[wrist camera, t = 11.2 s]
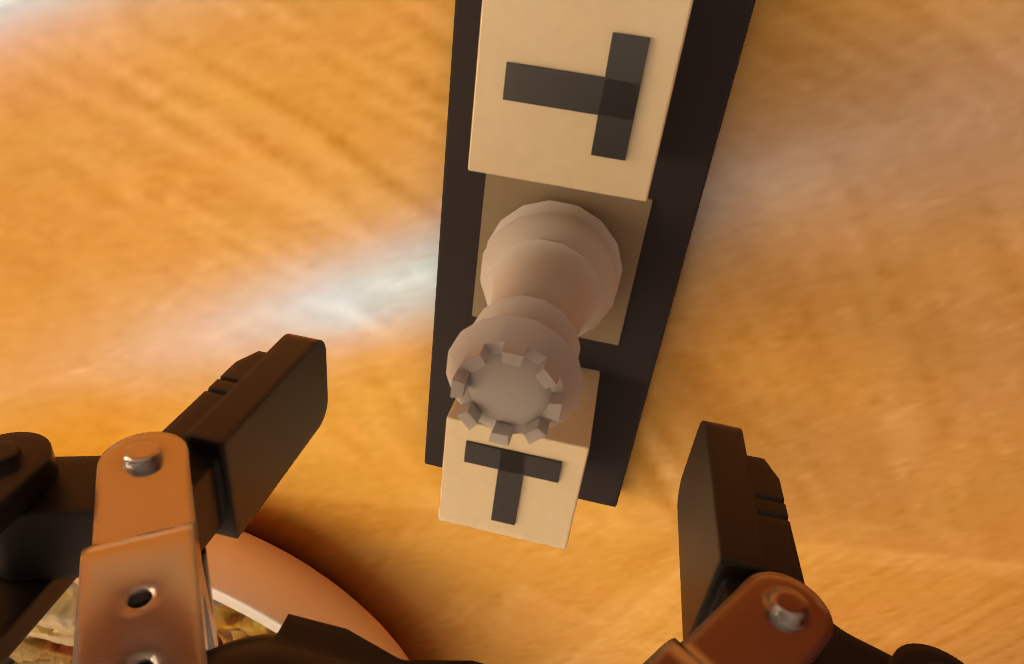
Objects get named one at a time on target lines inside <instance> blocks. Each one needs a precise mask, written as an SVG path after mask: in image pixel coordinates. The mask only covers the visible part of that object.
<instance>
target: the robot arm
mask: <svg viewBox="0 0 1024 664" xmlns="http://www.w3.org/2000/svg"><path fill="white" fill-rule="evenodd" d="M327 402H328V392H327V366H326V348H325V344H324V342H323V341H322V340H317V339H312V338H307V337H303V336H298V335H293V334H286V335H284V336H283V337H282V338H281V339H280V340H279V341H278V342H277V343H276V344H275V345H274V346H273V347H272V348H271V349H270V350H269V351H268V352H267V353H266V352H261V351H258V352H256V353H254V354H252V355H249V356H247V357H245V358H243V359H241V360H239V361H237V362H236V363H234V364H233V365H232V366H231V367H230V368H229V369H228V370H227V371H226V372H225V373H224V374H223V375H222V376H221V379H217V380H216V381H215V382H214V383H213V384H212V385H211V386H210V387H209V388H208V391H205V392H204V393H203V394H202V395H201V396H199V397H198V398H197V399H196V400H195V401H194V402H193V403H192V404H191V405H190V406H189V407H188V408H187V409H186V410H185V411H184V412H182V413H181V414H180V415H179V416H178V417H177V418H176V419H175V420H174V421H173V422H172V423H171V424H170V425H169V426H168V427H167V428H166V429H164V430H163V431H162V432H147V433H141V434H137V435H133V436H130V437H127V438H125V439H123V440H121V441H119V442H117V443H115V444H114V445H112V446H111V447H110V448H108V449H107V450H106V451H105V452H104V453H103V454H102V456H75V457H55V456H54V452H53V449H52V446H51V443H50V442H49V440H48V439H47V438H45V437H44V436H42V435H40V434H36V433H30V432H14V433H7V434H1V435H0V664H3V663H4V662H5V661H6V660H7V658H8V657H9V656H10V655H11V654H12V653H13V651H14V650H15V649H16V648H17V647H18V646H19V645H20V643H21V642H22V641H23V640H24V639H25V638H26V636H27V635H28V634H29V633H30V632H31V631H32V629H33V628H34V627H35V626H36V625H37V624H38V623H39V621H40V620H41V619H42V618H43V617H44V616H45V614H46V613H47V612H48V611H49V610H50V609H51V607H52V606H53V605H54V604H55V603H56V602H57V600H58V599H59V598H60V597H61V596H62V595H63V594H64V592H65V591H66V590H67V589H68V588H69V587H70V585H71V584H72V583H73V582H74V581H75V580H76V578H79V581H78V594H77V607H76V620H75V632H74V645H73V658H72V664H483V663H479V662H475V661H448V660H403V659H400V658H397V657H396V656H394V655H392V654H390V653H389V652H387V651H385V650H383V649H381V648H380V647H378V646H376V645H374V644H373V643H371V642H369V641H367V640H366V639H364V638H362V637H360V636H359V635H357V634H355V633H353V632H352V631H350V630H348V629H346V628H342V627H338V626H334V625H330V624H327V623H323V622H319V621H315V620H311V619H307V618H303V617H299V616H295V615H291V614H288V615H287V617H286V619H285V621H284V623H283V624H282V626H281V628H280V630H279V631H278V633H268V634H259V635H253V636H248V637H244V638H239V639H236V640H233V641H230V642H227V643H224V644H222V645H219V646H218V639H217V632H216V623H215V615H214V606H213V597H212V589H211V580H210V571H209V563H208V554H207V549H206V545H207V544H208V543H209V542H210V540H211V539H212V538H213V536H214V535H215V534H220V535H224V536H228V537H232V538H236V539H238V538H239V536H240V535H241V534H242V532H243V531H244V530H245V528H246V527H247V525H248V524H249V523H250V521H251V520H252V519H253V517H254V516H255V514H256V513H257V512H258V510H259V509H260V508H261V506H262V505H263V504H264V502H265V501H266V499H267V498H268V497H269V495H270V494H271V493H272V491H273V490H274V488H275V487H276V486H277V484H278V483H279V482H280V480H281V479H282V477H283V476H284V475H285V473H286V472H287V471H288V469H289V468H290V467H291V465H292V464H293V462H294V461H295V460H296V458H297V457H298V456H299V454H300V453H301V451H302V450H303V449H304V447H305V446H306V445H307V443H308V442H309V440H310V439H311V438H312V436H313V435H314V434H315V432H316V431H317V429H318V428H319V427H320V425H321V423H322V421H323V419H324V416H325V413H326V409H327ZM677 509H678V533H679V556H680V580H681V603H682V626H683V641H682V642H681V643H680V642H679V641H677V640H676V639H675V638H673V639H671V640H669V641H667V642H666V643H665V644H664V645H663V646H661V647H660V648H659V649H658V650H657V651H656V652H655V653H654V654H653V655H652V656H651V657H650V658H649V659H648V660H647V661H646V662H645V663H643V664H964V663H962V662H961V661H960V660H958V659H957V658H955V657H953V656H952V655H950V654H948V653H946V652H944V651H942V650H940V649H938V648H935V647H932V646H929V645H924V644H916V643H913V644H906V645H903V646H901V647H900V648H898V649H897V650H896V651H895V653H894V654H893V656H891V655H889V654H887V653H885V652H883V651H881V650H879V649H877V648H875V647H873V646H871V645H869V644H867V643H865V642H863V641H861V640H859V639H857V638H855V637H853V636H852V635H850V634H848V633H846V632H844V631H843V630H842V629H840V628H839V627H837V626H836V625H835V624H833V621H832V617H831V615H830V612H829V610H828V609H827V607H826V605H825V604H824V602H823V601H822V600H821V599H820V597H819V596H818V595H817V594H816V593H815V592H814V591H812V590H811V589H810V588H809V587H808V586H806V585H805V583H804V579H803V575H802V571H801V567H800V563H799V559H798V554H797V550H796V546H795V542H794V538H793V534H792V530H791V526H790V522H789V521H788V513H787V509H786V505H785V504H784V497H783V493H782V489H781V485H780V481H779V478H778V477H777V476H776V474H775V473H774V472H773V470H772V469H771V468H770V466H769V465H768V464H767V462H766V461H765V460H764V459H762V458H757V457H752V456H748V455H747V454H746V448H745V443H744V438H743V433H742V430H741V429H740V428H736V427H732V426H727V425H722V424H717V423H712V422H708V421H702V422H701V424H700V426H699V428H698V431H697V434H696V437H695V440H694V443H693V446H692V449H691V452H690V455H689V458H688V461H687V464H686V467H685V470H684V472H683V475H682V479H681V483H680V488H679V494H678V505H677Z"/></svg>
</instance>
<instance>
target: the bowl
mask: <svg viewBox="0 0 1024 664" xmlns="http://www.w3.org/2000/svg"><path fill="white" fill-rule="evenodd" d="M206 549H207V554H208V563H209V571H210V580H211V589H212V597H213V606H214V615H215V623H216V632H217V639H218V646H219V645H222V644H224V643H227V642H230V641H233V640H236V639H239V638H244V637H248V636H253V635H259V634H268V633H278V631H279V630H280V628H281V626H282V624H283V623H284V621H285V619H286V617H287V615H288V614H291V615H295V616H299V617H303V618H307V619H311V620H315V621H319V622H323V623H327V624H330V625H334V626H338V627H342V628H346V629H348V630H350V631H352V632H353V633H355V634H357V635H359V636H360V637H362V638H364V639H366V640H367V641H369V642H371V643H373V644H374V645H376V646H378V647H380V648H381V649H383V650H385V651H387V652H389V653H390V654H392V655H394V656H396V657H397V658H400V659H403V660H409V659H408V657H407V656H406V655H405V653H404V652H403V651H402V649H401V648H400V646H399V645H398V644H397V643H396V641H395V640H394V639H393V638H392V637H391V635H390V634H389V633H388V632H387V631H386V630H385V629H384V628H383V626H382V625H381V624H380V623H379V622H378V621H377V620H376V619H375V618H374V617H373V616H372V615H371V614H370V613H369V612H368V611H367V610H366V609H364V608H363V607H362V606H361V605H360V604H359V603H358V602H357V601H356V600H354V599H353V598H352V597H351V596H350V595H348V594H347V593H346V592H345V591H343V590H342V589H341V588H340V587H338V586H337V585H336V584H334V583H333V582H332V581H330V580H329V579H328V578H326V577H325V576H323V575H322V574H320V573H319V572H318V571H316V570H315V569H313V568H312V567H310V566H308V565H307V564H305V563H304V562H302V561H300V560H299V559H297V558H295V557H294V556H292V555H290V554H288V553H287V552H285V551H283V550H281V549H279V548H277V547H275V546H273V545H271V544H270V543H268V542H266V541H263V540H261V539H259V538H257V537H255V536H253V535H251V534H248V533H246V532H242V534H241V535H240V536H239V538H238V539H236V538H232V537H228V536H224V535H220V534H215V535H214V536H213V538H212V539H211V540H210V542H209V543H208V544H207V545H206ZM78 581H79V578H76V580H75V581H74V582H73V583H72V584H71V585H70V587H69V588H68V589H67V590H66V591H65V592H64V594H63V595H62V596H61V597H60V598H59V599H58V600H57V602H56V603H55V604H54V605H53V606H52V607H51V609H50V610H49V611H48V612H47V613H46V614H45V616H44V617H43V618H42V619H41V620H40V621H39V623H38V624H37V625H36V626H35V627H34V628H33V629H32V631H31V632H30V633H29V634H28V635H27V636H26V638H25V639H24V640H23V641H22V642H21V643H20V645H19V646H18V647H17V648H16V649H15V650H14V651H13V653H12V654H11V655H10V656H9V657H8V658H7V660H6V661H5V662H4V663H3V664H72V658H73V645H74V632H75V620H76V607H77V594H78Z"/></svg>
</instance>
